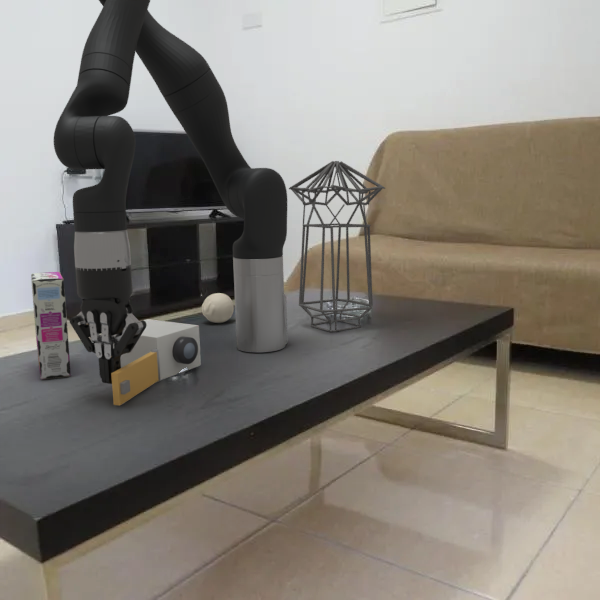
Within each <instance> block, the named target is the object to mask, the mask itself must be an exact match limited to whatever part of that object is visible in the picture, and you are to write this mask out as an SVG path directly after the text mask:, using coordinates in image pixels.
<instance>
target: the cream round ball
mask: <svg viewBox="0 0 600 600" xmlns="http://www.w3.org/2000/svg"><path fill="white" fill-rule="evenodd" d="M234 310H235V304H234V301H233V300H232V299H231V297H230V296H229V295H228V294H226V293H220V292H217V293H216V292H215V293H212V294H210V295H208V296H207V297H206V298H205V299H204V300H203V303H202V305H201V313H202V315H203V316H204V317H205V318H206V319H207V320H208V321H209V322H211V323H215V324H222V323H225V322H227V321H229V320H230V319H231V318H232V316H233V313H234V312H235V311H234Z"/></svg>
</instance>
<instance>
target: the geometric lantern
mask: <svg viewBox="0 0 600 600" xmlns="http://www.w3.org/2000/svg"><path fill="white" fill-rule="evenodd" d="M355 175H356V176H358V177H359V178H362V179H363V180H365V181H366V182H369V183H370V184H371V185H374V186H373V187H367V186H365V185H364V184H363V183H362V182H361V181H360V180H359V179H358V178H357V177H356V176H355ZM336 176H337V177H336ZM345 177H346V178H347V180H348V181H349V183H351V185H352V186H353V187H354V188H350V187H349V186H348V184H347V180H346V179H345ZM313 178H314V179H313ZM332 178H333V180H332ZM336 178H337V182H338V185H336V184H335V181H336ZM311 179H312V181H311V182H310V183H309V184H308V185H307V186H305V187H300V186H302V185H303V184H305V183H306V182H308V181H310V180H311ZM326 185H327V186H326ZM324 189H325V190H324ZM383 189H384V190H385V189H386V187H385V186H383V185H381V184H380V183H379V182H376V181H375V180H373V179H372V178H370V177H368V176H367V175H365V174H363V173H362V172H360V171H358V170H357V169H354V168H353V167H352V166H350V165H348V164H346V162H343V161H341V160H335V161H334V160H332V161H330V162H329V163H327V164H326V165H324V166H322V167H321V168H319V169H317V170H316V171H314V172H313V173H311V174H309V175H308V176H306V177H305V178H303V179H301V180H299V181H298V182H296V183H295V184H293V185H292V186H290V187H289V188H288V190H291V191H292V192H293V194H294V195H295V196H296V197H297V198H298V200H300V202H301V203H302V206H303V212H302V213H303V214H302V215H303V216H302V232H301V234H302V235H301V236H302V237H301V256H300V274H299V275H300V277H299V292H298V293H299V295H298V296H299V298H298V306H299V307H301V309H303V311H304V312H305V313H306V314H307V315H308V316H310V327H311V328H315V329H318V330H322V331H325V332H329V333H337V332H341V331H342V332H343V331H347V330H348V331H349V330H352V329H359V328H361V327H362V326H361V319H362V318H363V317H364V316H365V315H367V314H369V312H370V311H371V310H372V309H373V307H374V303H373V300H374V299H373V279H372V277H373V275H372V251H371V247H372V246H371V226H372V225H371V224H368V223H367V217H366V215H367V214H366V206H369V205H370V202H372V201H373V199H374V198H376V196H377V195H378V194H380V192H381V191H382V190H383ZM342 191H343V192H346V193H345V194H346V199H345V198H344V197H343V196H342V194H341V193H340V192H342ZM329 192H334V194H333V195H332V196H331V197H330V198H328V195H329ZM305 193H307V195H306V194H305ZM310 193H312V194H314V196H313V198H311V194H310ZM321 193H325V198H324V199H325V200H324V202H319V201H317V198H318V196H320V194H321ZM354 193H358V197H357V196H356V195H355V194H354ZM349 194H350V196H351V197H352V198H353V199H354V201H351V202H350V197H349ZM364 194H367V195H365V196H364ZM336 196H338V198H339V199H340V200H341V201H342V202H343V204H342V206H341V207H340V209H339V210H338V211H337V213H336V214H334V213H333V211H332V210H331V209H330V207H329V206H328V205H329V204H330V203H331V202H332V200H333V199H334V198H335V197H336ZM305 199H307V200H308V202H306V200H305ZM365 200H366V202H365ZM310 205H311V206H312V207H311V209H310V213H309V215H308V216H309V217H308V220H307V222H306V224H305V217H306V215H305V213H306V207H307V206H310ZM316 205H320V206H326V208H327V209H328V210H329V212H330V214H331V215H332V216H333V219H331V221H330V223H324V221H323V218H322V217H321V215H320V213H319V211H318V209H317V207H316ZM353 205H356V206H355V208H354V210H353V211H352V213H351V215H350V216H349V218H348V220H347V222H346V223H340V221H339V220H338V219H337V217H338V215H339V214H340V213H341V211H342V210H343V208H344V207H345V206H353ZM358 208H359V209H360V213H361V215H362V220H363V222H364V224H362V223H350V222H351V221H352V219H353V217H354V216H355V213H356V211H357V210H358ZM314 212H315V213H316V216H317V218H318V220H319V222H320V223H311V224H310V222H311V219H312V216H313V213H314ZM335 220H336V222H337V223H333V222H334V221H335ZM310 227H311V228H322V232H321V233H322V234H321V235H322V236H321V237H322V238H321V261H320V262H321V265H320V267H321V268H320V293H319V294H320V295H319V296H320V297H319V300H312V301H305V288H306V286H305V285H306V278H307V276H306V275H307V261H308V260H307V259H308V245H309V235H310V234H309V233H310V231H309V230H310ZM334 228H338V232H337V233H338V235H337V255H336V257H337V258H336V259H337V260H336V262H337V263H336V276H335V253H334V252H335V251H334V250H335V249H334V248H335V246H334ZM342 228H345V245H346V254H345V255H346V293H347V295H346V298H347V299H343V298H339V287H340V285H339V284H340V283H339V281H340V260H341V258H340V257H341V239H342V238H341V235H342ZM349 228H363V233H364V248H365V264H366V266H365V267H366V280H367V296H368V297H367V298H368V303H366V302H362V301H357V300H352V299H350V298H351V297H350V296H351V295H350V293H351V292H350V291H351V289H350V249H349V247H350V246H349ZM326 229H330V253H331V254H330V258H331V259H330V260H331V262H330V263H331V289H332V290H331V291H332V295H331V297H332V298H331V299H324V278H325V276H324V275H325V273H324V272H325V249H326V248H325V245H326V243H325V242H326V240H325V239H326V238H325V237H326ZM335 277H336V281H335ZM335 282H336V284H335ZM331 302H332V309H323V305H324V304H323V303H331ZM338 302H344V303H345V304H344V306H343V307H342V308H341V309H340V308H339V309H338ZM349 303H350V304H351V303H352V304H355V305H361V306H362V307H351V308H346V307H347V305H348V304H349ZM312 304H313V305H315V304H319V308H316V307H313V306H309V305H312ZM363 306H364V307H363ZM309 310H312V311H315V312H318V314H312V313H311V312H310V311H309ZM354 311H356V312H357V311H363V312H362V313H361V315H356V314H351V313H347V312H354ZM345 312H346V313H345ZM319 313H320V314H319ZM328 315H333V319H332V320H331V319H330V318H329V317H328ZM337 315H339V319H337ZM321 316H323V318H322V317H321ZM342 316H348V317H351V318H343V319H342ZM324 317H325V318H324ZM314 319H316V320H321V321H323V322H314ZM354 320H357V322H358V323H354V322H351V321H354ZM337 322H338V323H339V322H341V323H345V324H349V325H352V326H351V327H345V328H339V329H337V328H338V327H337V325H338V324H337ZM332 323H334V329H333V330H332ZM322 324H323V325H324V324H329V329H326V328H323V327H320V326H317V325H322Z"/></svg>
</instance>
